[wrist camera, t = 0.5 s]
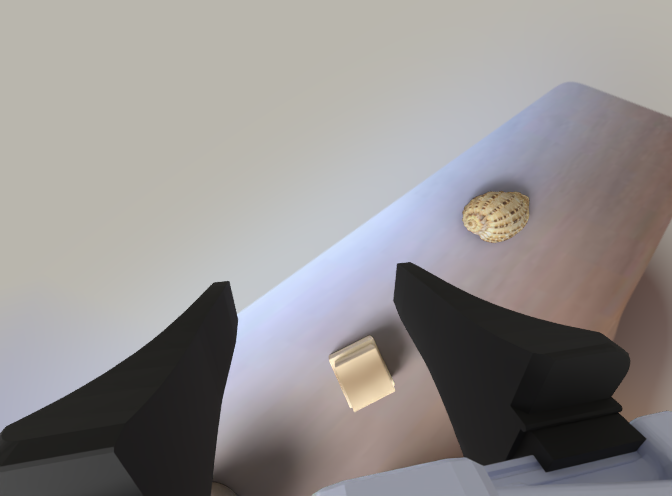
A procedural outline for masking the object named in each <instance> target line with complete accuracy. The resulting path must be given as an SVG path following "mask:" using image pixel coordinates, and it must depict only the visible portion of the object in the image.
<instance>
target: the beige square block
mask: <svg viewBox="0 0 672 496" xmlns="http://www.w3.org/2000/svg"><path fill="white" fill-rule="evenodd" d="M335 368H336V371H337V373H338V375H339V378H340V380H341V382H342V384H343V387H344V389H345V391H346V394H347V396H348V398H349V401H350V403H351V405H352V408H353V410H354V412H356V411H358V410H360V409H361V408H363V407H365V406H367V405H369V404H371V403H373V402H375V401H377V400H379V399H381V398H383V397H385V396H387V395H389V394H391V393H392V392H394V391H395V389H394V387H393V385H392V382H391V380H390V378H389V376H388V374H387V372H386V369H385V367H384V365H383V363H382V361H381V358H380V356H379V354H378V352H377V350H376V348H375V347H374V346H373V345H372V344H369V345H367V346H365V347H363V348H361V349H359V350H357V351H355V352H353V353H351V354H349V355H347V356H345V357H343V358H341V359H339V360H337V361H335Z"/></svg>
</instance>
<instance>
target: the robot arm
mask: <svg viewBox="0 0 672 496" xmlns="http://www.w3.org/2000/svg"><path fill="white" fill-rule="evenodd" d="M393 301H394V303H395V306H396V309H397V311H398V314H399V316H400V318H401V321H402V322H403V324H404V326H405V328H406V330H407V331H408V333H409V335H410V337H411V338H412V340H413V342H414V344H415V345H416V347H417V349H418V351H419V352H420V354H421V356H422V358H423V359H424V361H425V363H426V365H427V367H428V369H429V371H430V373H431V375H432V378H433V380H434V382H435V385H436V387H437V389H438V391H439V394H440V396H441V399H442V401H443V403H444V406H445V408H446V411H447V413H448V416H449V418H450V421H451V423H452V426H453V429H454V431H455V434H456V437H457V439H458V442H459V444H460V447H461V450H462V453H463V456H464V458H448V459H442V460H438V461H433V462H428V463H424V464H419V465H414V466H410V467H405V468H400V469H396V470H391V471H386V472H382V473H377V474H372V475H368V476H363V477H358V478H354V479H349V480H344V481H341V482H338V483H335V484H333V485H330V486H327V487H324V488H321V489H320V490H318V491H317V492H316V493H314V494H313V495H312V496H672V412H671V411H664V412H659V413H655V414H650V415H645V416H641V417H638V418H635V419H634V420H632V421H631V422H628V421H627V420H626V419H625V418H624V417H622V416H621V415H620V414H619V413H618V412H621V411H622V406H621V405H620V404H619V403H617V401H615V400H614V399H613V398H612V397H611V396H612V395H613V393H614V392H615V390H616V389H617V388H618V386H619V385H620V383H621V382H622V380H623V378H624V377H625V376H626V374H627V372H628V370H629V366H630V358H629V354H628V353H627V352H626V351H625V350H624V349H622V348H621V347H619V346H618V345H617V344H615V343H614V342H613V341H611V340H610V339H609V338H607V337H606V336H604V335H603V334H601V333H600V332H595V331H590V330H585V329H580V328H575V327H570V326H565V325H561V324H557V323H553V322H549V321H545V320H541V319H537V318H534V317H531V316H527V315H524V314H521V313H518V312H515V311H512V310H509V309H506V308H503V307H500V306H497V305H495V304H492V303H490V302H487V301H485V300H482V299H480V298H478V297H476V296H473V295H471V294H469V293H467V292H465V291H463V290H461V289H459V288H457V287H455V286H453V285H451V284H449V283H447V282H446V281H444V280H442V279H440V278H438V277H437V276H435V275H433V274H431V273H429V272H428V271H426V270H424V269H422V268H421V267H419V266H417V265H415V264H413V263H411V262H408V263H398V264H397V270H396V280H395V290H394V300H393ZM237 326H238V317H237V313H236V309H235V304H234V300H233V296H232V291H231V286H230V282H229V281H224V282H215V283H213V284H212V285H211V286H210V287H209V288H208V289H207V290H206V291H205V292H204V293H203V294H202V295H201V296H200V297H199V298H198V299H197V300H196V301H195V302H194V303H193V304H192V305H191V306H190V307H189V308H188V309H187V310H186V311H185V312H184V313H183V314H182V315H181V316H179V317H178V318H177V319H176V320H175V321H174V322H173V323H172V324H170V325H169V326H168V327H167V328H166V329H165V330H164V331H163V332H161V333H160V334H159V335H158V336H157V337H155V338H154V339H153V340H152V341H150V342H149V343H148V344H146V345H145V346H144V347H142V348H141V349H140V350H138V351H137V352H136V353H134V354H133V355H131V356H130V357H128V358H127V359H125V360H124V361H122V362H121V363H119V364H118V365H116V366H115V367H113V368H112V369H111V370H109V371H107V372H106V373H104V374H103V375H101V376H99V377H98V378H96V379H94V380H93V381H91V382H89V383H88V384H86V385H84V386H82V387H81V388H79V389H77V390H75V391H74V392H72V393H70V394H69V395H67V396H65V397H63V398H61V399H60V400H57V401H56V402H54V403H52V404H50V405H48V406H46V407H44V408H42V409H40V410H38V411H36V412H34V413H32V414H30V415H28V416H26V417H24V418H22V419H20V420H18V421H16V422H14V423H12V424H10V425H8V426H6V427H5V429H3V431H2V432H1V433H0V496H211V489H212V479H213V469H214V459H215V451H216V442H217V434H218V426H219V419H220V411H221V404H222V399H223V394H224V390H225V385H226V381H227V377H228V373H229V369H230V365H231V361H232V356H233V352H234V348H235V343H236V336H237Z"/></svg>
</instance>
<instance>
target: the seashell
mask: <svg viewBox="0 0 672 496" xmlns="http://www.w3.org/2000/svg"><path fill="white" fill-rule="evenodd" d="M462 213H463V219H462V221H463V222H464V226H465V227H466V228H467V230H468V231H471V232H472V233H474V234H478V235H479V236H480V237H481V239H482V240H484V241H487V242H491V243H496V242H501V241H505V240H507V239H509V238H511V237H513V236H514V235H516V234H517V233H518V232H520V231H521V230H522V229H523V228H524V226H525V225H526V223H527V221H528V218H529V198H528V197H527V196H525V195H522V194H521V193H520V192H519V193H518V192H508V193H505V192H503V191H499V192H492V191H491V192H487V193H485V194H483V195H479V196H477V197H475V198H473V199H472V200H471V201H470V203H469V204H467V205H466V206H465V207H464V211H463V212H462Z"/></svg>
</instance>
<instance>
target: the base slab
mask: <svg viewBox="0 0 672 496" xmlns="http://www.w3.org/2000/svg"><path fill="white" fill-rule="evenodd" d="M369 344H372V345H373V346H374V347H375V348H376V350H377V352H378V354H379V356H380V358H381V361H382V363H383V365H384V367H385V369H386V372H387V374H388V376H389V378H390V380H391V382H392V385H393V386H394V385H395V383H394V381H393V379H392V377H391V375H390V373H389V371H388V369H387V367H386V364H385V362H384V360H383V358H382V356H381V354H380V352H379V350H378V348H377V346H376V343H375V341H374V339H373V338H372V337H371V336H370V335H369V336H367V337H365V338H363V339H361V340H359V341H357V342H355V343H353V344H351V345H349V346H347V347H345V348H343V349H341V350H339V351H337V352H335V353H333V354H331V355H329V362H330V364H331V366H332V368H333V370H334V373H335V375H336V377H337V379H338V382H339V384H340V386H341V388H342V391H343V393H344V395H345V397H346V400H347V402H348V404H349V406H350V408H352V405H351V403H350V401H349V398H348V396H347V394H346V391H345V389H344V387H343V384H342V382H341V380H340V378H339V375H338V373H337V371H336V368H335V361H337V360H339V359H341V358H343V357H345V356H347V355H349V354H351V353H353V352H355V351H357V350H359V349H361V348H363V347H365V346H367V345H369Z"/></svg>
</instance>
